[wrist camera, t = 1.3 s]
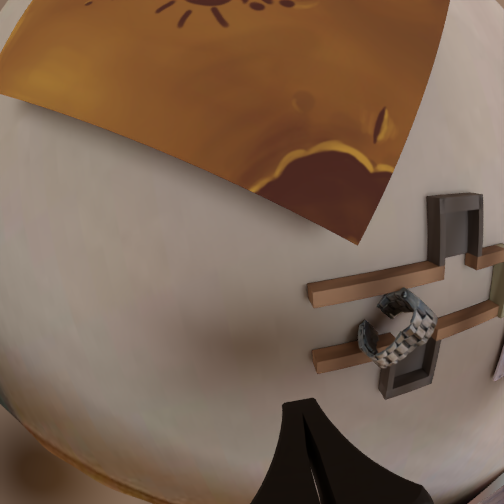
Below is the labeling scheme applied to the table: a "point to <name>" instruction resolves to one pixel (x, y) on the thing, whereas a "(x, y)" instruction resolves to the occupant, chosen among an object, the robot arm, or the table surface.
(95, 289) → the table surface
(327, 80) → the diary
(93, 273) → the table surface
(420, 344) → the wristwatch
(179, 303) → the table surface
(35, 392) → the table surface
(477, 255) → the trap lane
